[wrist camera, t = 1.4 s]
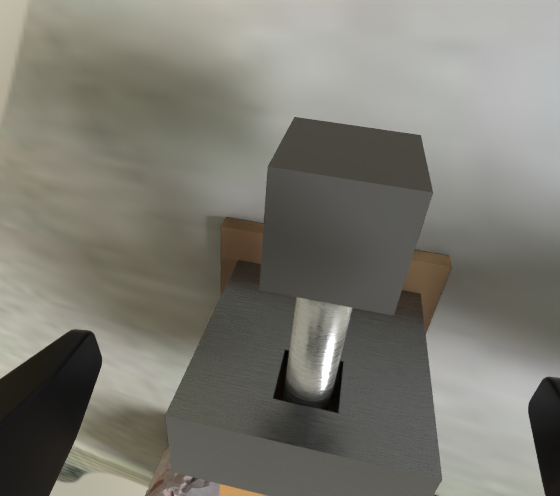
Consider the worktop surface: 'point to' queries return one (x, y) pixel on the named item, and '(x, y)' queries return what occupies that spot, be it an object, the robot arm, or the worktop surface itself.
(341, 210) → the shaft
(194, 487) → the food item
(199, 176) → the worktop surface
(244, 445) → the stand
